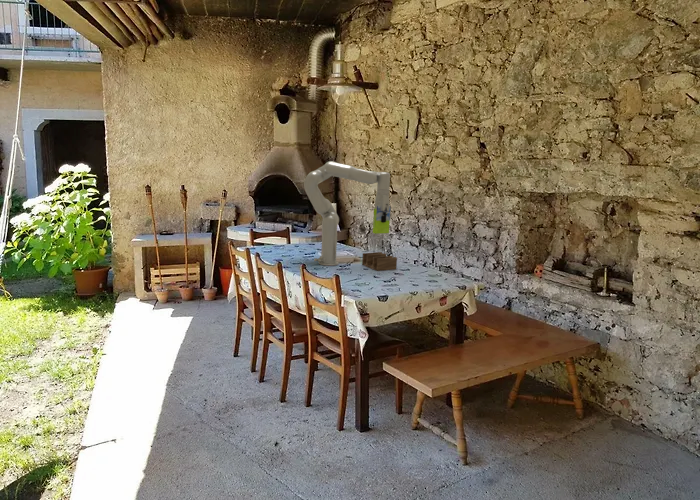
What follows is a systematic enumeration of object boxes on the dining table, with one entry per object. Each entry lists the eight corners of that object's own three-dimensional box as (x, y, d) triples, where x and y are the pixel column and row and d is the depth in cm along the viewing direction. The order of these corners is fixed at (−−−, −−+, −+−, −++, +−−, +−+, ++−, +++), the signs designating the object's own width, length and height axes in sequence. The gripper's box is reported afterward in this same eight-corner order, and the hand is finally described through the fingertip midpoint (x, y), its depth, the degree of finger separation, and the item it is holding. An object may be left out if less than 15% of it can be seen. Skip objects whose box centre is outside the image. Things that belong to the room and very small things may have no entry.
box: (386, 232, 353) (387, 205, 350) (389, 233, 350) (391, 205, 346) (371, 232, 348) (373, 205, 345) (375, 234, 345) (377, 206, 341)
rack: (396, 269, 349) (397, 257, 348) (377, 271, 342) (378, 259, 341) (380, 263, 364) (381, 252, 363) (362, 264, 357) (362, 253, 356)
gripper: (370, 191, 349) (369, 220, 353) (385, 193, 335) (383, 224, 339) (380, 190, 353) (378, 219, 357) (395, 193, 339) (394, 223, 342)
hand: (381, 221), depth 348 cm, fingers closed on box, 4 cm apart
